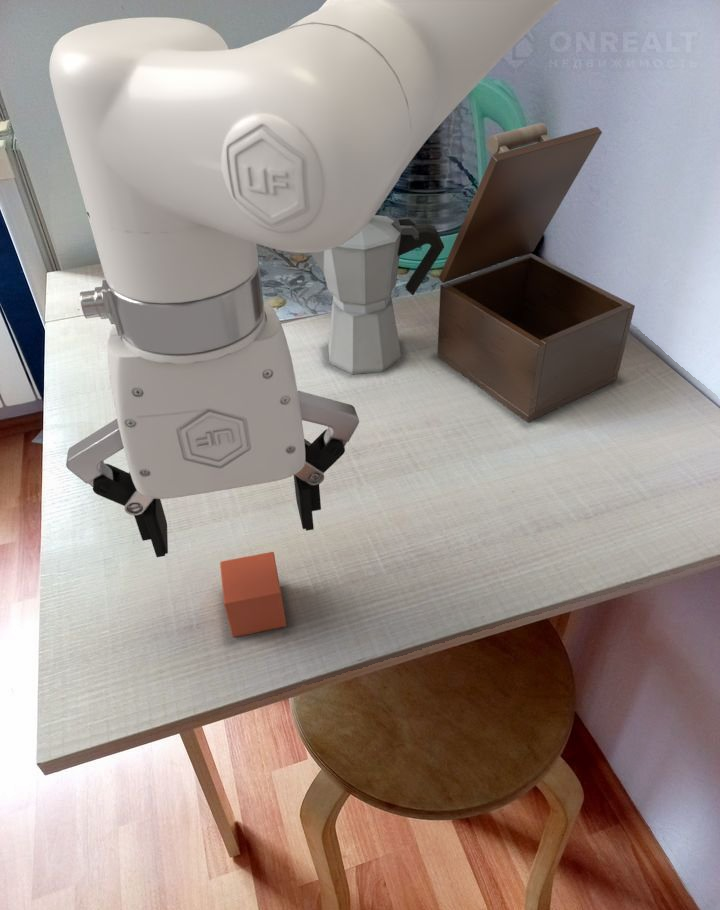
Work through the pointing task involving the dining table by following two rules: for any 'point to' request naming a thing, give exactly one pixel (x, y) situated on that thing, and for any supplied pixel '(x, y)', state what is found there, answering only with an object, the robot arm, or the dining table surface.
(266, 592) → the block
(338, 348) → the coffee maker
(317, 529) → the dining table surface
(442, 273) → the lid
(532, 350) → the wooden trinket chest
